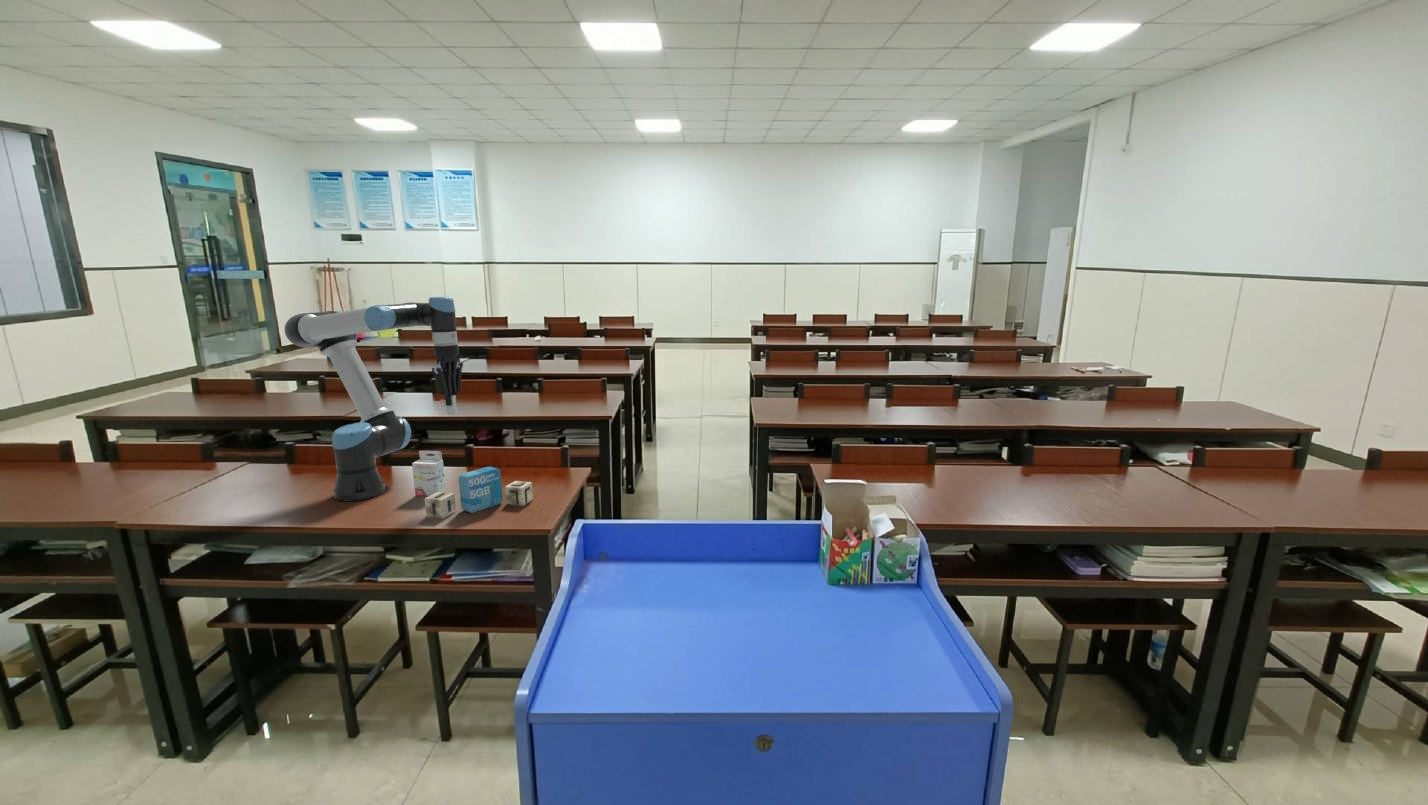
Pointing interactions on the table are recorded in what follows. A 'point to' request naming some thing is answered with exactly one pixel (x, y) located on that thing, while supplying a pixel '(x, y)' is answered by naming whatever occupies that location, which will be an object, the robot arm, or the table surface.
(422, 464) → the ink cartridge box
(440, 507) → the maple block one
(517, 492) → the maple block seven
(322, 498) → the table surface
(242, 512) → the table surface
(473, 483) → the data package
